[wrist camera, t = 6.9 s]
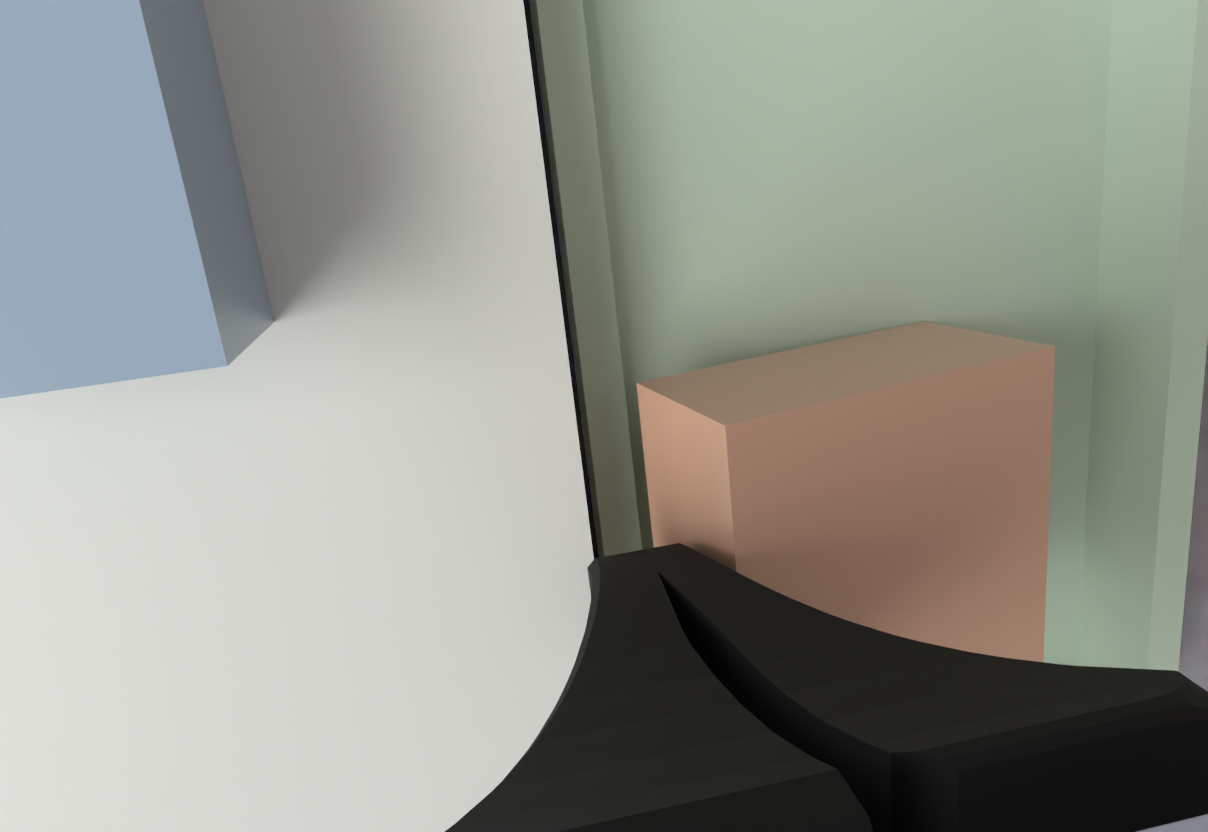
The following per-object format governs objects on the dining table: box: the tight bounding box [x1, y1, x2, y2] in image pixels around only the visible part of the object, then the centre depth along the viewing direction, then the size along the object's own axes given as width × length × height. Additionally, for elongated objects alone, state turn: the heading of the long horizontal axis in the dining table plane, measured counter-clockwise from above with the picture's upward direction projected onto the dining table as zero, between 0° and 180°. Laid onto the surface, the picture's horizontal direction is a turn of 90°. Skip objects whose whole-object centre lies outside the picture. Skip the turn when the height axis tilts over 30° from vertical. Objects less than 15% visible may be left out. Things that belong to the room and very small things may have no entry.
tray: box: [529, 0, 1208, 671], centre depth 13 cm, size 17×9×2 cm, turn 6°
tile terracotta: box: [636, 321, 1055, 662], centre depth 13 cm, size 5×5×2 cm
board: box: [0, 0, 594, 832], centre depth 11 cm, size 16×14×2 cm
